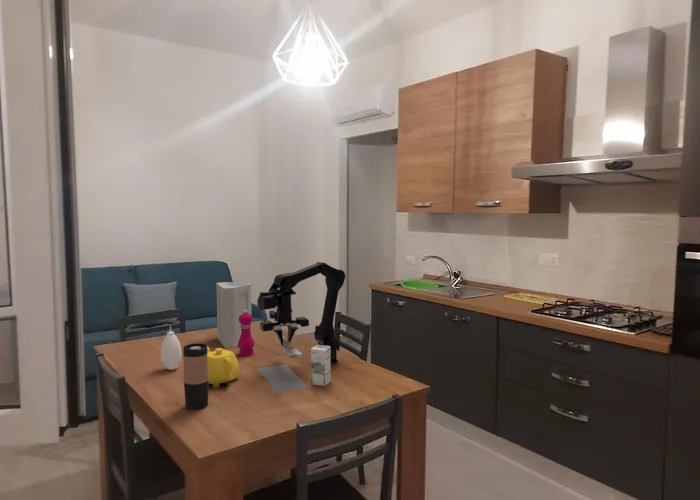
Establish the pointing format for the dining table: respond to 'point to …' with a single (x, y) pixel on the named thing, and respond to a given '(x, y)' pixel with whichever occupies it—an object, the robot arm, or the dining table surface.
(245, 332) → the pepper mill
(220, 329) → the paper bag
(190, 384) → the travel mug
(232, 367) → the teapot
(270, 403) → the dining table surface
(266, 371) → the charcoal board
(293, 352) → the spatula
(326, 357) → the syrup box
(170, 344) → the air blower bulb
